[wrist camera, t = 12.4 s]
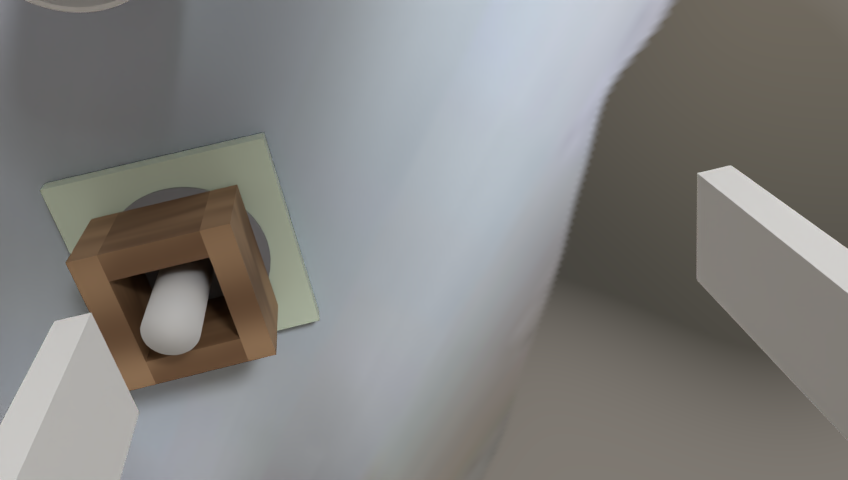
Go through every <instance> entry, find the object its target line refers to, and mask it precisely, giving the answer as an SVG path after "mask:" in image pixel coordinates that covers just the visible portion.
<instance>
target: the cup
mask: <svg viewBox="0 0 848 480" xmlns="http://www.w3.org/2000/svg"><path fill="white" fill-rule="evenodd" d="M25 1H27V2H29V3H32V4H34V5H37V6H40V7H44V8H47V9H51V10H56V11H62V12H73V13H87V12H96V11H102V10H106V9H110V8H114V7H116V6H119V5H122V4H124V3H126V2H128V1H130V0H25Z"/></svg>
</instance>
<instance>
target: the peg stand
mask: <svg viewBox="0 0 848 480" xmlns="http://www.w3.org/2000/svg"><path fill="white" fill-rule="evenodd" d="M233 185H238V188H239V191H240V194H241V197H242V200H243V203H244V206H245V209H246V212H247V215H248V218H249V221H250V224H251V227H252V230H253V233H254V236H255V239H256V241H257V244H258V247H259V250H260V253H261V256H262V259H263V262H264V265H265V268H266V271H267V274H268V277H269V280H270V283H271V286H272V289H273V292H274V295H275V298H276V301H277V303H278V322H277V331H278V330H282V329H287V328H291V327H295V326H299V325H303V324H307V323H311V322H315V321H319V320H320V319H319V310H318V307H317V303H316V300H315V297H314V294H313V290H312V287H311V284H310V281H309V277H308V274H307V271H306V268H305V264H304V261H303V258H302V255H301V251H300V248H299V245H298V242H297V238H296V235H295V232H294V229H293V226H292V222H291V219H290V216H289V213H288V209H287V206H286V203H285V200H284V196H283V193H282V190H281V187H280V183H279V180H278V177H277V174H276V170H275V167H274V164H273V161H272V157H271V154H270V151H269V148H268V144H267V141H266V138H265V135H264V132H263V133H259V134H255V135H250V136H246V137H242V138H237V139H233V140H229V141H225V142H220V143H216V144H212V145H207V146H203V147H199V148H195V149H190V150H186V151H182V152H177V153H173V154H169V155H165V156H160V157H156V158H152V159H147V160H143V161H139V162H134V163H130V164H126V165H122V166H117V167H113V168H109V169H104V170H100V171H96V172H92V173H87V174H83V175H79V176H74V177H70V178H66V179H61V180H57V181H53V182H49V183H45V184H44V186H43V187H42V188H41V189H40V192H41V194H42V196H43V198H44V200H45V202H46V204H47V207H48V209H49V211H50V213H51V215H52V217H53V219H54V221H55V223H56V225H57V227H58V229H59V232H60V234H61V236H62V238H63V240H64V242H65V244H66V246H67V248H68V250H69V252H70V254H71V253H72V251H73V249H74V248H75V246H76V244H77V242H78V241H79V239H80V237H81V236H82V234H83V232H84V230H85V229H86V227H87V225H88V224H89V222H90V220H91V219H93V218H98V217H102V216H106V215H110V214H115V213H119V212H123V211H127V210H132V209H136V208H140V207H144V206H148V205H153V204H157V203H161V202H165V201H170V200H174V199H178V198H182V197H187V196H191V195H195V194H199V193H203V192H208V191H212V190H216V189H220V188H225V187H229V186H233ZM145 275H146V277H147V279H148V281H149V284H150V286H151V288H152V293H151V296H150V299H149V302H148V305H147V308H146V311H145V314H144V317H143V320H142V323H141V327H140V333H141V337H142V339H143V341H144V342H145V344H146V345H147V346H148V347H149V348H151V349H152V350H154V351H156V352H158V353H161V354H165V355H179V354H183V353H186V352H188V351H190V350H191V349H193V348H194V347H195V346H196V345H197V343H198V342H199V340H200V336H201V332H202V327H203V322H204V317H205V312H206V307H207V302H208V300H209V299H213V298H217V297H221V296H224V295H223V292H222V289H221V287H220V284H219V281H218V279H217V276H216V273H215V271H214V268H213V265H212V263H211V260H210V258H205V259H201V260H197V261H192V262H188V263H184V264H180V265H176V266H172V267H168V268H163V269H159V270H155V271H151V272H147V273H145Z"/></svg>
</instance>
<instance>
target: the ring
mask: <svg viewBox="0 0 848 480" xmlns="http://www.w3.org/2000/svg"><path fill="white" fill-rule="evenodd" d="M205 258H210V260H211V263H212V265H213V268H214V271H215V273H216V276H217V279H218V281H219V284H220V287H221V289H222V292H223V295H224V296H221V297H217V298H213V299H209V300H208V302H207V307H206V312H205V317H204V322H203V327H202V332H201V336H200V340H199V342H198V343H197V345H196V346H195V347H194V348H193V349H191V350H190V351H188V352H186V353H183V354H179V355H165V354H161V353H158V352H156V351H154V350H152V349H151V348H149V347H148V346H147V345H146V344H145V342H144V341H143V339H142V337H141V333H140V327H141V323H142V320H143V317H144V314H145V311H146V308H147V305H148V302H149V299H150V296H151V293H152V288H151V286H150V284H149V281H148V279H147V277H146V275H145V273H147V272H151V271H155V270H159V269H163V268H168V267H172V266H176V265H180V264H184V263H188V262H192V261H197V260H201V259H205ZM66 265H67V267H68V269H69V271H70V273H71V275H72V277H73V279H74V281H75V283H76V285H77V287H78V290H79V292H80V294H81V296H82V298H83V300H84V302H85V304H86V306H87V308H88V310H89V312H90V313H92V315H93V317H94V319H95V321H96V323H97V325H98V327H99V330H100V332H101V334H102V336H103V338H104V340H105V342H106V344H107V346H108V348H109V350H110V352H111V354H112V357H113V359H114V361H115V363H116V365H117V367H118V369H119V371H120V373H121V375H122V377H123V379H124V381H125V384H126V386H127V388H128V390H129V391H131V390H135V389H139V388H143V387H147V386H151V385H155V384H159V383H163V382H167V381H171V380H175V379H179V378H183V377H187V376H191V375H195V374H199V373H203V372H207V371H211V370H215V369H219V368H223V367H227V366H231V365H235V364H239V363H243V362H248V361H252V360H256V359H260V358H264V357H268V356H272V355H276V347H277V322H278V303H277V301H276V298H275V295H274V292H273V289H272V286H271V283H270V280H269V277H268V274H267V271H266V268H265V265H264V262H263V259H262V256H261V253H260V250H259V247H258V244H257V241H256V239H255V236H254V233H253V230H252V227H251V224H250V221H249V218H248V215H247V212H246V209H245V206H244V203H243V200H242V197H241V194H240V191H239V188H238V185H233V186H229V187H225V188H220V189H216V190H212V191H208V192H203V193H199V194H195V195H191V196H187V197H182V198H178V199H174V200H170V201H165V202H161V203H157V204H153V205H148V206H144V207H140V208H136V209H132V210H127V211H123V212H119V213H115V214H110V215H106V216H102V217H98V218H93V219H91V220H90V222H89V224H88V225H87V227H86V229H85V230H84V232H83V234H82V236H81V237H80V239H79V241H78V242H77V244H76V246H75V248H74V249H73V251H72V253H71V254H70V256H69V258H68V260H67V261H66Z"/></svg>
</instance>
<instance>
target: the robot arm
mask: <svg viewBox="0 0 848 480" xmlns="http://www.w3.org/2000/svg"><path fill="white" fill-rule="evenodd" d="M697 281H699V283H700V284H701V285H702V286H703V287H704V288H705V289H706V290H707V291H708V292H709V293H710V294H711V295H712V296H713V298H714V299H715V300H716V301H717V302H718V303H719V304H720V305H721V306H722V307H723V308H724V309H725V310H726V311H727V313H728V314H729V315H730V316H731V317H732V318H733V319H734V320H735V321H736V322H737V323H738V324H739V325H740V326H741V327H742V329H743V330H744V331H745V332H746V333H747V334H748V335H749V336H750V337H751V338H752V339H753V340H754V341H755V342H756V343H757V344H758V346H759V347H760V348H761V349H762V350H763V351H764V352H765V353H766V354H767V355H768V356H769V357H770V358H771V359H772V361H773V362H774V363H775V364H776V365H777V366H778V367H779V368H780V369H781V370H782V371H783V372H784V373H785V374H786V375H787V376H788V378H789V379H791V381H792V382H793V383H794V384H795V385H796V386H797V387H798V388H799V389H800V390H801V391H802V393H803V394H804V395H805V396H806V397H807V398H808V399H809V400H810V401H811V402H812V403H813V404H814V405H815V406H816V407H817V408H818V410H819V411H820V412H821V413H822V414H823V415H824V416H825V417H826V418H827V419H828V420H829V421H830V422H831V423H832V424H833V426H834V427H835V428H836V429H837V430H838V431H839V432H840V433H841V434H842V435H843V436H844V437H845V438H846V439H847V440H848V249H847V248H845V247H844V246H843V245H841V244H840V243H839V242H837V241H836V240H834V239H833V238H832V237H830V236H829V235H827V234H826V233H824V232H823V231H822V230H820V229H819V228H818V227H816V226H815V225H813V224H812V223H811V222H809V221H808V220H807V219H805V218H804V217H802V216H801V215H799V214H798V213H797V212H795V211H794V210H793V209H791V208H790V207H788V206H787V205H786V204H784V203H783V202H781V201H780V200H779V199H777V198H776V197H774V196H773V195H772V194H770V193H769V192H767V191H766V190H765V189H763V188H762V187H761V186H759V185H758V184H756V183H755V182H754V181H752V180H751V179H749V178H748V177H747V176H745V175H744V174H742V173H741V172H740V171H738V170H736V169H735V168H734V167H733V166H726V167H722V168H718V169H713V170H709V171H705V172H700V173H697ZM138 415H139V411H138V408H137V406H136V404H135V402H134V400H133V398H132V396H131V394H130V392H129V390H128V388H127V386H126V384H125V381H124V379H123V377H122V375H121V373H120V371H119V369H118V367H117V365H116V363H115V361H114V359H113V357H112V354H111V352H110V350H109V348H108V346H107V344H106V342H105V340H104V338H103V336H102V334H101V332H100V330H99V327H98V325H97V323H96V321H95V319H94V317H93V315H92V313H87V314H83V315H79V316H74V317H70V318H66V319H61V320H57V321H54V323H53V325H52V327H51V329H50V330H49V332H48V334H47V336H46V338H45V340H44V342H43V344H42V346H41V348H40V350H39V352H38V353H37V355H36V357H35V359H34V361H33V363H32V365H31V367H30V369H29V371H28V373H27V375H26V376H25V378H24V380H23V382H22V384H21V386H20V388H19V390H18V392H17V394H16V396H15V398H14V400H13V401H12V403H11V405H10V407H9V409H8V411H7V413H6V415H5V417H4V419H3V421H2V423H1V424H0V480H120V478H121V475H122V471H123V468H124V464H125V461H126V457H127V454H128V450H129V447H130V443H131V440H132V436H133V433H134V429H135V426H136V422H137V418H138Z"/></svg>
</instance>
